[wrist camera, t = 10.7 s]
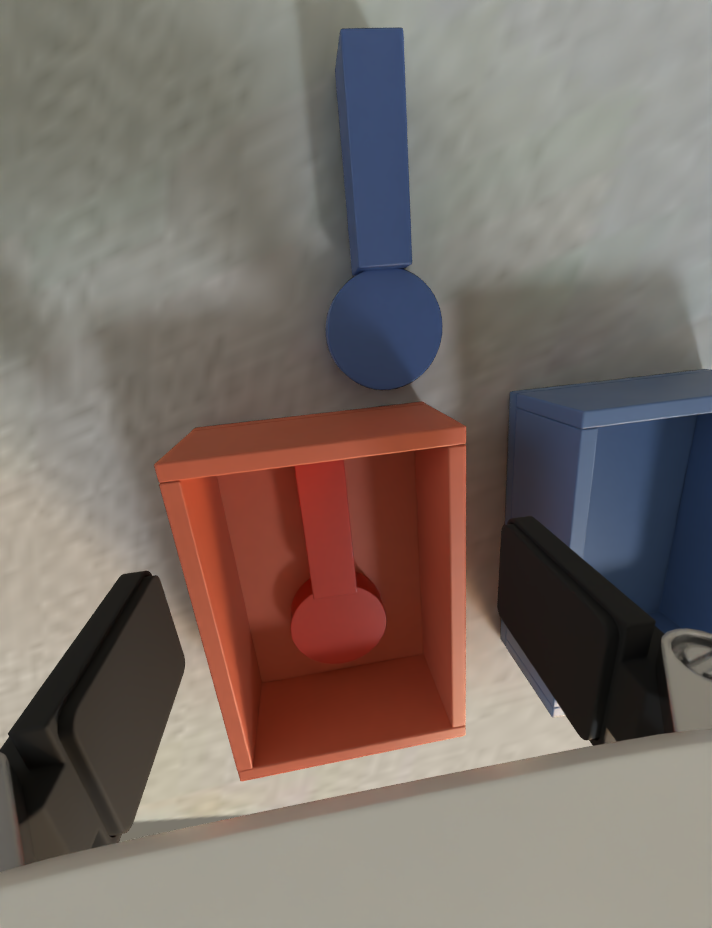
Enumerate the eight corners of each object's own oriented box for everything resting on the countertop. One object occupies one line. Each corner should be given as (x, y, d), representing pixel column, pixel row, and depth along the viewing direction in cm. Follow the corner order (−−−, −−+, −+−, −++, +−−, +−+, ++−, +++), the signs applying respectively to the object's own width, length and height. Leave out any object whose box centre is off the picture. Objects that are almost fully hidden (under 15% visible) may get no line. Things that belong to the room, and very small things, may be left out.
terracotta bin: (194, 427, 15) (152, 464, 11) (422, 401, 16) (466, 425, 12) (253, 683, 20) (240, 782, 15) (430, 651, 20) (466, 736, 16)
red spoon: (262, 448, 15) (258, 463, 14) (368, 436, 16) (376, 448, 14) (297, 651, 19) (297, 683, 17) (384, 636, 19) (392, 666, 17)
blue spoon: (296, 69, 12) (295, 28, 11) (425, 66, 13) (445, 24, 11) (331, 391, 16) (335, 398, 14) (433, 380, 16) (449, 386, 14)
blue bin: (509, 391, 17) (583, 411, 12) (704, 368, 17) (837, 379, 13) (499, 639, 21) (552, 718, 17) (656, 610, 22) (745, 679, 17)
